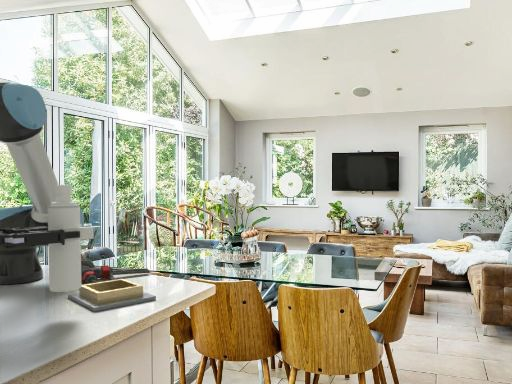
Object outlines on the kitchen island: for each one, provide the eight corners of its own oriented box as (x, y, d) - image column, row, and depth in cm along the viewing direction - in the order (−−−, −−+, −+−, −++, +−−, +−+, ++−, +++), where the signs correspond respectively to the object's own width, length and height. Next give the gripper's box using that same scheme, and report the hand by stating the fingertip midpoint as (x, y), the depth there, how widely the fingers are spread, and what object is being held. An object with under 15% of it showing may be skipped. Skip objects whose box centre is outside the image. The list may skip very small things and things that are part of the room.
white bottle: (86, 285, 106) (84, 177, 105) (72, 292, 100) (69, 177, 99) (59, 284, 107) (57, 177, 106) (43, 291, 100) (40, 177, 100)
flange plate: (67, 297, 120) (67, 284, 120) (125, 288, 131) (124, 276, 131) (94, 312, 107) (94, 297, 107) (155, 300, 117) (155, 286, 117)
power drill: (69, 297, 130) (61, 280, 143) (157, 289, 144) (142, 274, 156) (70, 275, 129) (62, 260, 142) (158, 270, 143) (144, 256, 155)
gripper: (-37, 253, 99) (72, 243, 114) (-18, 266, 84) (104, 252, 99) (-38, 219, 98) (71, 212, 114) (-20, 225, 84) (103, 217, 99)
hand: (86, 231), depth 106 cm, fingers closed on white bottle, 6 cm apart
